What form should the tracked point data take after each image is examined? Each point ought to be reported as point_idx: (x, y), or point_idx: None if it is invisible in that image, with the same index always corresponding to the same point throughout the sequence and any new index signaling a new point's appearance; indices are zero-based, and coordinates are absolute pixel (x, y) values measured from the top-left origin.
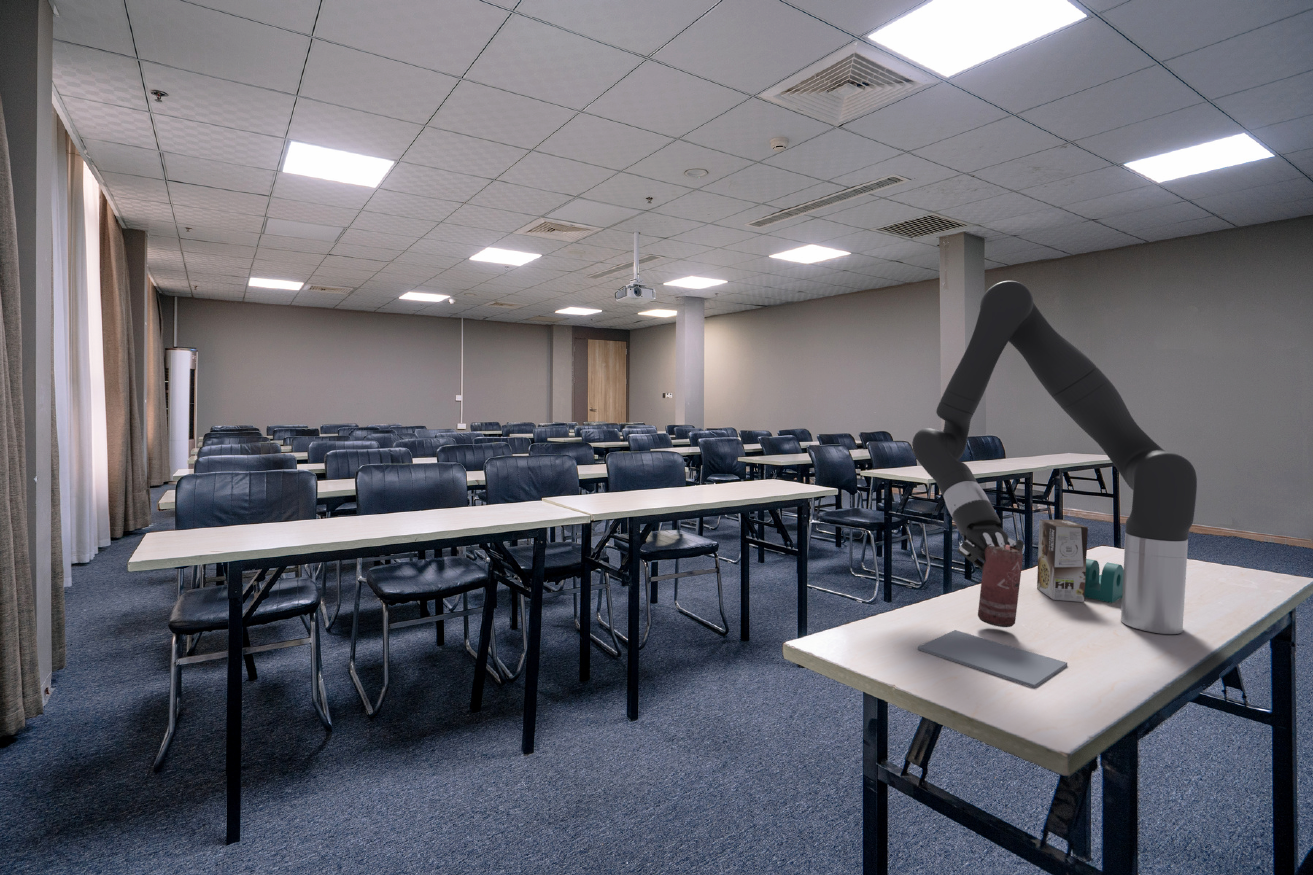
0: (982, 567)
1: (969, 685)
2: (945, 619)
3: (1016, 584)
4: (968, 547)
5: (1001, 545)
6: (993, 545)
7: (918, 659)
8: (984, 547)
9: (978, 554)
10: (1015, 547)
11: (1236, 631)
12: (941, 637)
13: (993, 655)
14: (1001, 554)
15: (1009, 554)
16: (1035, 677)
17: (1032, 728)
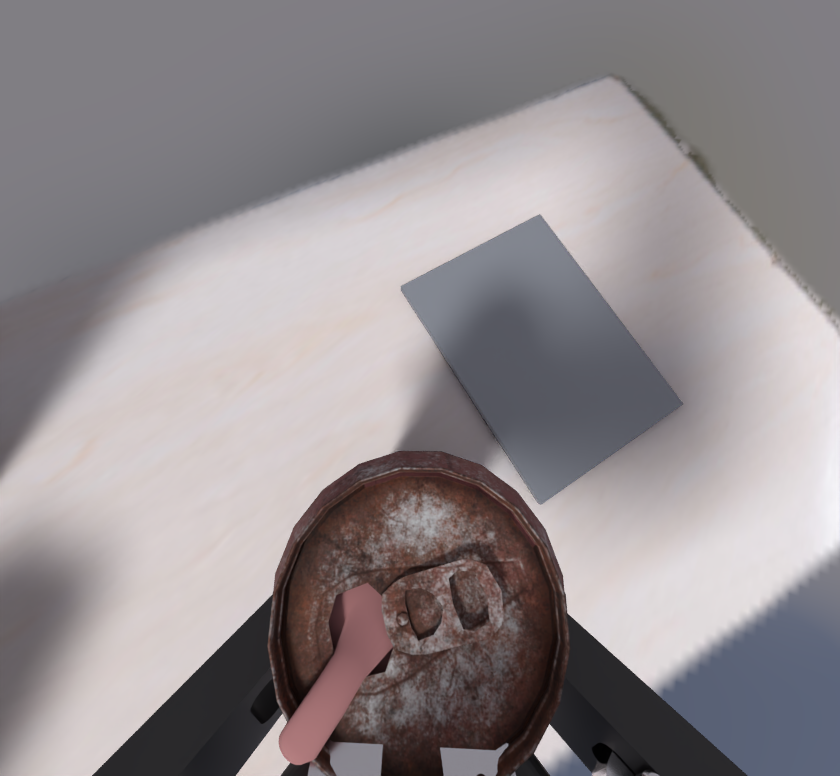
0: None
1: (644, 243)
2: None
3: None
4: (699, 751)
5: (358, 765)
6: (453, 761)
7: (694, 356)
8: (528, 764)
9: (594, 651)
10: (273, 651)
11: None
12: (603, 454)
13: (536, 339)
14: (511, 492)
15: (463, 463)
16: (517, 237)
17: (619, 124)
